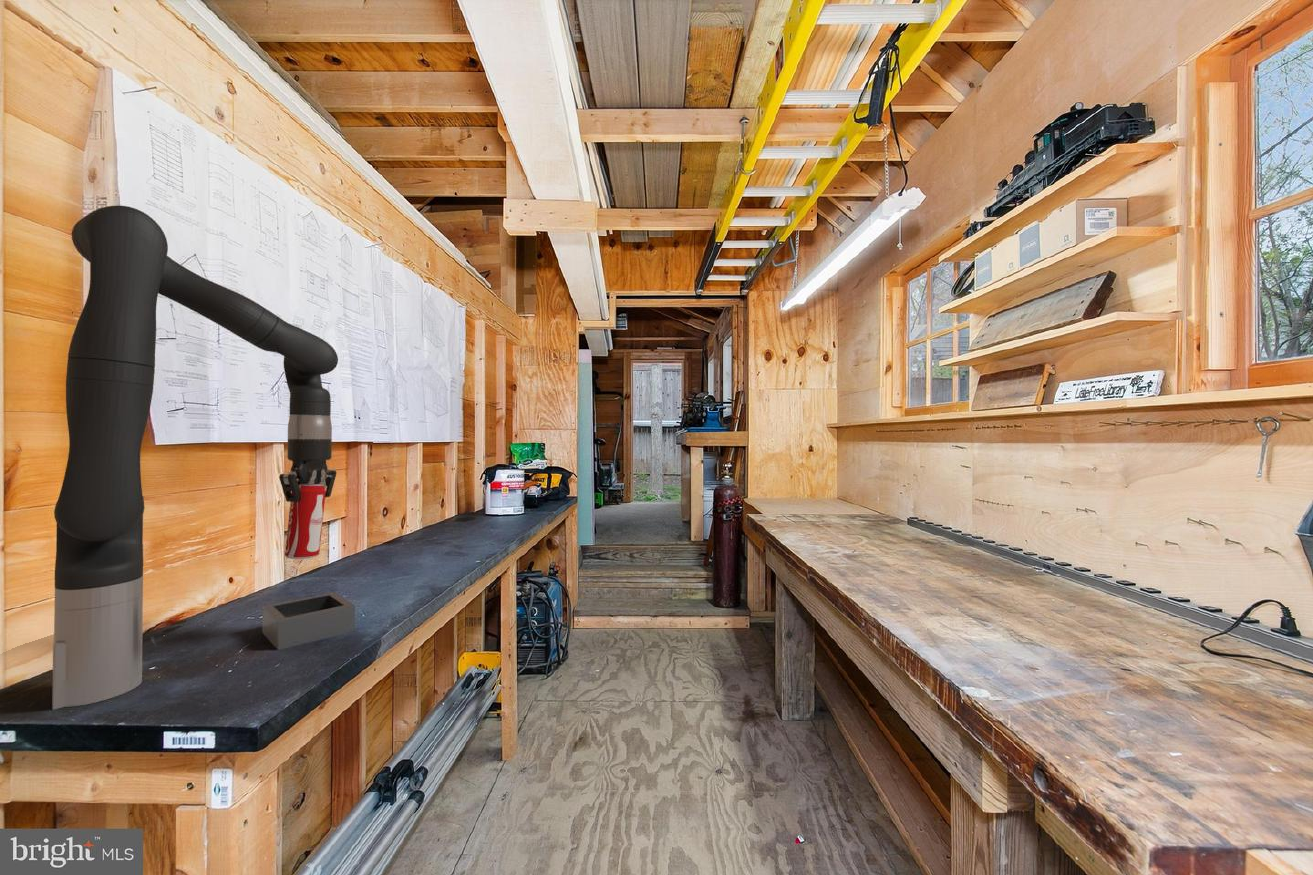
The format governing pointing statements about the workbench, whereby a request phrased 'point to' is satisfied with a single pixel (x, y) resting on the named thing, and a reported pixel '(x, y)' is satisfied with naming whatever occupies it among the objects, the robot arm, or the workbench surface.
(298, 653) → the workbench surface
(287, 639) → the socket block
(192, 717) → the workbench surface
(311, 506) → the beverage can
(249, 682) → the workbench surface
